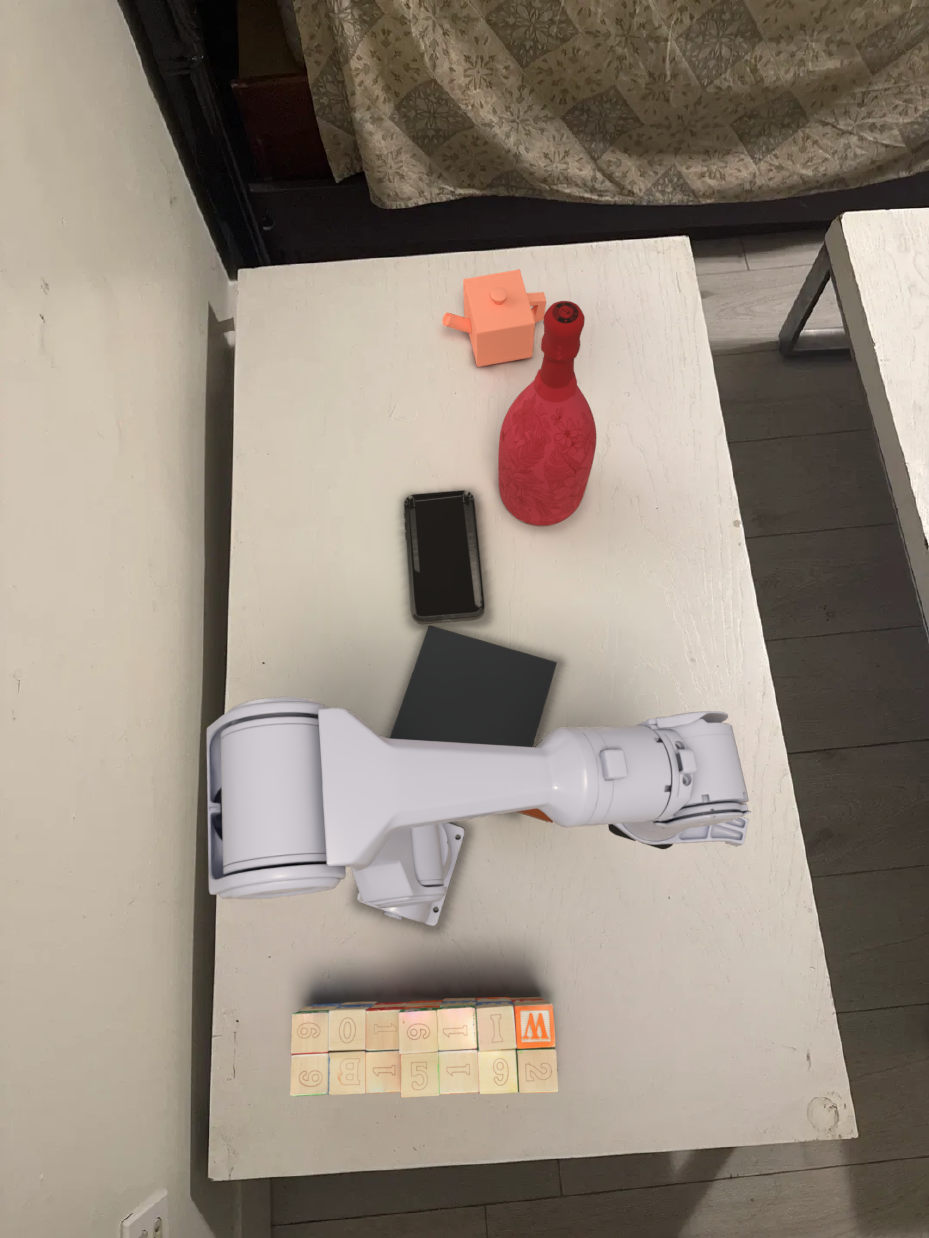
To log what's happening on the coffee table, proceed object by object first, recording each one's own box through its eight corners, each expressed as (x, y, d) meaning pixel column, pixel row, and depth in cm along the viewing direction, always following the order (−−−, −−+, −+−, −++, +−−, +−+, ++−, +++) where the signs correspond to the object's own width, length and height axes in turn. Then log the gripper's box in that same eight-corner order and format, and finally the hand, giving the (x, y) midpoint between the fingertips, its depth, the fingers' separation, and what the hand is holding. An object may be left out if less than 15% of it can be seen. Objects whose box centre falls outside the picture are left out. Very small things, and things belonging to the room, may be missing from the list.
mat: (513, 811, 86) (514, 811, 85) (379, 770, 88) (379, 769, 87) (556, 663, 91) (556, 662, 91) (429, 626, 93) (429, 625, 92)
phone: (473, 489, 97) (485, 615, 92) (473, 494, 98) (485, 618, 93) (402, 495, 97) (410, 621, 92) (403, 500, 98) (411, 625, 93)
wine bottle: (585, 531, 96) (629, 363, 68) (496, 530, 97) (503, 362, 68) (583, 454, 100) (624, 263, 72) (497, 453, 100) (504, 262, 72)
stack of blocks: (309, 1079, 78) (279, 1103, 66) (311, 1002, 80) (282, 1013, 69) (548, 1070, 78) (560, 1093, 66) (543, 994, 80) (554, 1003, 69)
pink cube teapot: (438, 324, 106) (434, 276, 99) (534, 307, 107) (538, 258, 99) (450, 377, 104) (448, 331, 96) (548, 359, 104) (554, 312, 97)
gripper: (774, 770, 63) (725, 798, 76) (580, 712, 65) (563, 750, 77) (756, 866, 61) (708, 879, 73) (555, 804, 62) (542, 827, 75)
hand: (632, 818), depth 75 cm, fingers closed
